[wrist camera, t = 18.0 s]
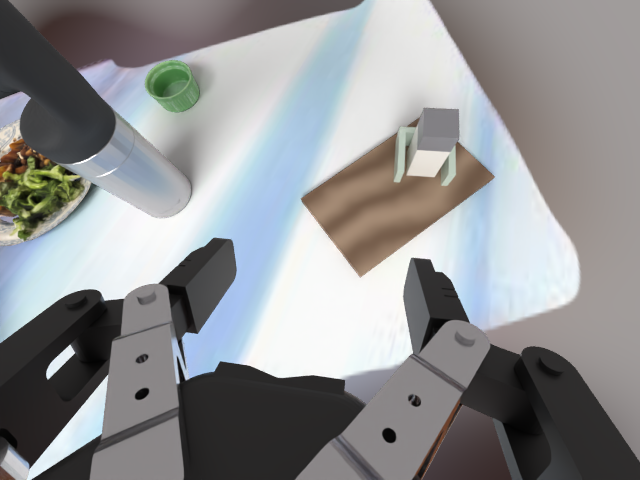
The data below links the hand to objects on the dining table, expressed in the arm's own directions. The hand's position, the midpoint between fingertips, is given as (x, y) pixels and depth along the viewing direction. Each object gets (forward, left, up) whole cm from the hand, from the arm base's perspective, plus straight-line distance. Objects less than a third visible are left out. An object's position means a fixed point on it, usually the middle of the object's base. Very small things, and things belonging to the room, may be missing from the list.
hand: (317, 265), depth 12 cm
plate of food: (-52, -32, -31) cm, 69 cm away
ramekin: (-51, -1, -31) cm, 60 cm away
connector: (-10, +25, -29) cm, 40 cm away
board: (-9, +19, -31) cm, 37 cm away
